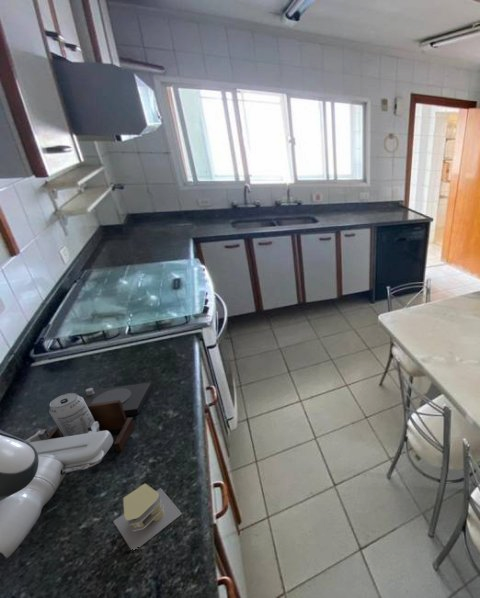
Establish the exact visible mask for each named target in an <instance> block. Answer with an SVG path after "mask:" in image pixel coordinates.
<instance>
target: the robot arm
mask: <svg viewBox="0 0 480 598" xmlns="http://www.w3.org/2000/svg"><path fill="white" fill-rule="evenodd" d="M98 428H99V423H98V421H96V422H90V423H89V425H88V426H87V429H88V433H86V434H80V435H73V436H67V437H62V436H61V438H54V439H48V440H45V439H46V438H47V436H49V434H50V432H51V431H49V429H48V428H45V429H39V430H37V432H36V433H35V434H34V435H32V436H30V437H29V438H27V439H23V438H20V437H19V436H16V435H14V434H11V433H9V432H6V431H5V430H2V429H0V564H1V563H3V562H4V561H6V560H7V559H8V558H9V557H11V556H12V554H13V553H15V551H16V550H17V549H18V548H19V546H20V545H21V544H22V543H23V541H24V540H25V538H26V537H27V536H28V534H29V533H30V532H31V530H32V528H33V527H34V526H35V524H36V523H37V522H38V520H39V518H40V516H41V513H42V509H43V507H44V506H45V505H46V504H47V503H48V502H49V501H50V500H51V499H52V497H53V496H54V494H55V493H56V491H57V490H58V488H59V486H60V485H61V483H62V481H63V480H64V478H65V477H66V475H68V474H72V473H75V472H76V473H77V472H80V471H87V470H89V469H91V468H92V467H94V466H96V465H99V464H100V463H101V462H102V460H103V458H104V457H105V455H107V453H108V451H109V450H110V448H111V447H112V445H114V438H113V435H112V433H111V432H110V431H107V430H105V431H99V432H97V429H98Z"/></svg>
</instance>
